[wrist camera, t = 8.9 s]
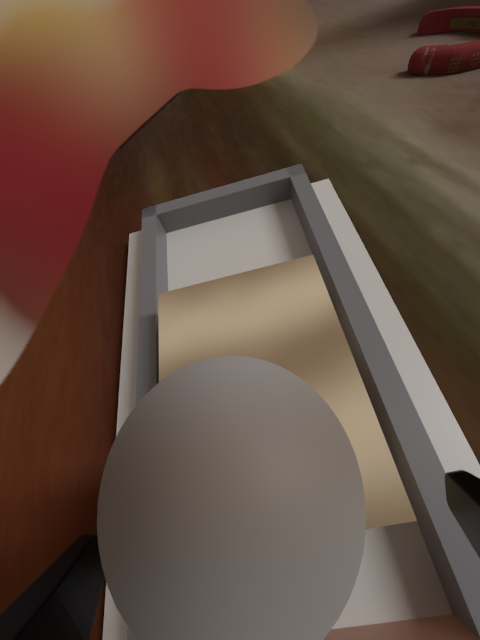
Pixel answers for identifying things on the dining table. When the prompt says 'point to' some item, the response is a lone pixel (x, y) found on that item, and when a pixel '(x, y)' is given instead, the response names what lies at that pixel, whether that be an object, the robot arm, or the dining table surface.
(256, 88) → the dining table surface
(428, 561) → the bay
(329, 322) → the cylinder on cream base
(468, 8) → the pliers
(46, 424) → the dining table surface
